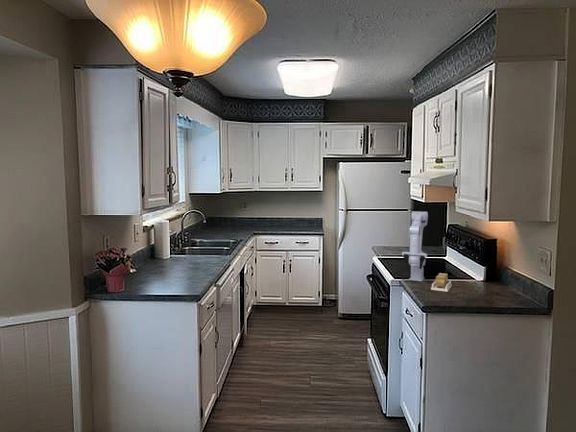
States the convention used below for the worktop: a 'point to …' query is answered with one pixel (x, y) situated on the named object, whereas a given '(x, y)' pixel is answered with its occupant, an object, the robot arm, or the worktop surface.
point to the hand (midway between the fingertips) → (414, 268)
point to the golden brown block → (441, 279)
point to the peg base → (441, 287)
